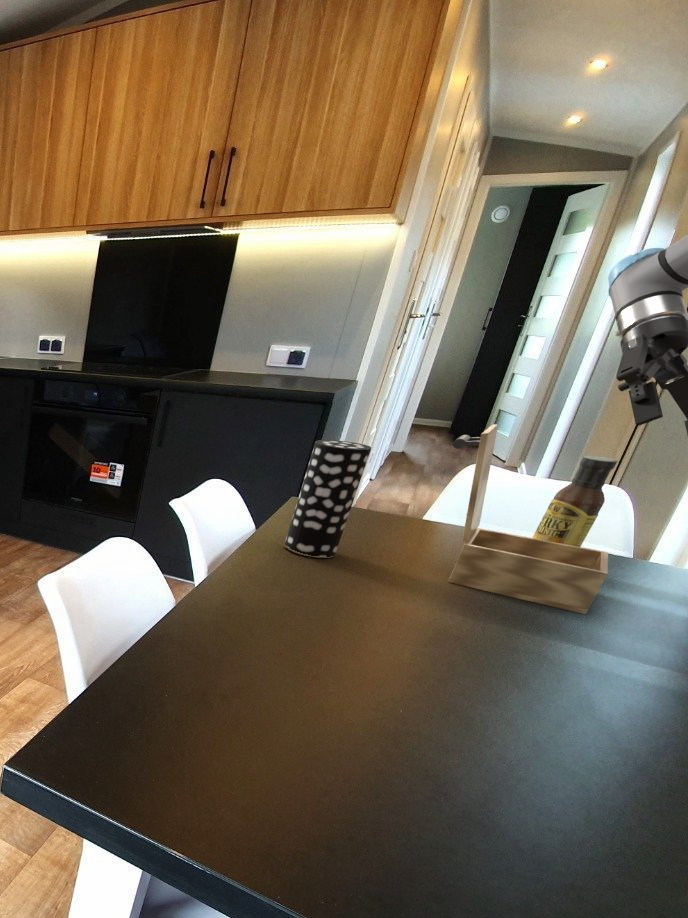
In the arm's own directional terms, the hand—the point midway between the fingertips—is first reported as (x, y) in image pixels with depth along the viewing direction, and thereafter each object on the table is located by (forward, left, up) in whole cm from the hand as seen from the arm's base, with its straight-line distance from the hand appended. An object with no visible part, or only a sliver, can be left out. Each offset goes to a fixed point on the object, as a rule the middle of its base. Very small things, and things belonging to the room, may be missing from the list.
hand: (678, 436), depth 100 cm
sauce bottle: (+7, 0, -25) cm, 26 cm away
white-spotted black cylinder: (+39, +24, -25) cm, 52 cm away
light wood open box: (+10, +16, -24) cm, 31 cm away
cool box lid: (+19, +16, -8) cm, 27 cm away
